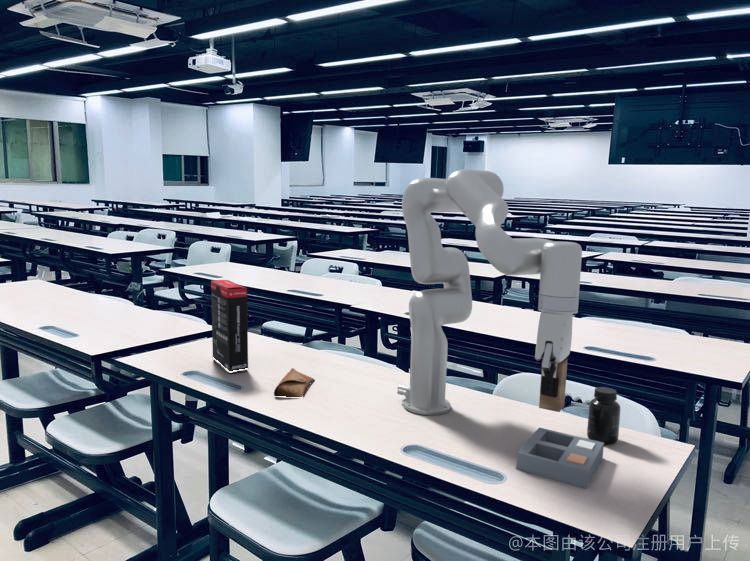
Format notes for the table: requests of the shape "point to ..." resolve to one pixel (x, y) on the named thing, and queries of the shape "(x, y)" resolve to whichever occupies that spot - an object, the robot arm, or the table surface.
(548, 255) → the robot arm
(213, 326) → the graphics card box
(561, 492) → the table surface
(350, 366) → the table surface
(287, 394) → the sunglasses case
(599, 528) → the table surface
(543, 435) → the socket block
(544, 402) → the plug
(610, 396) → the supplement bottle
